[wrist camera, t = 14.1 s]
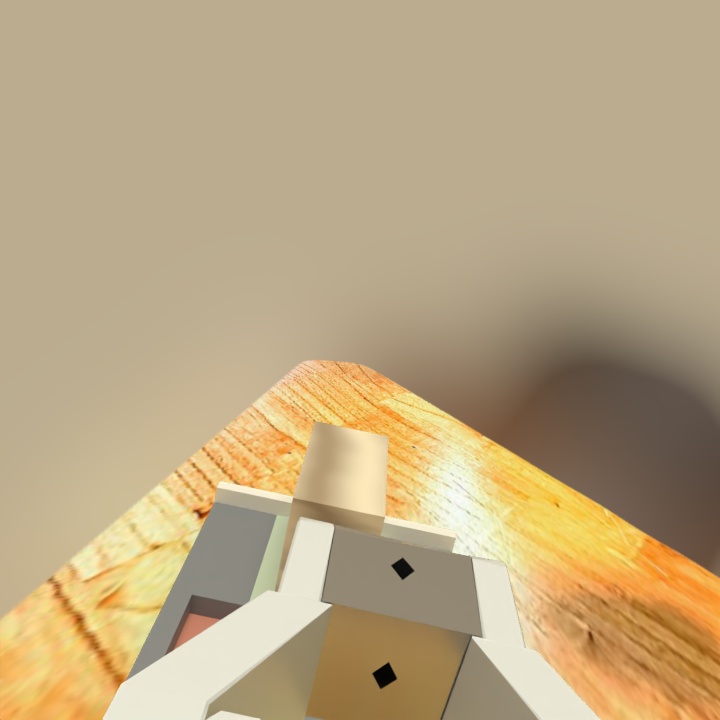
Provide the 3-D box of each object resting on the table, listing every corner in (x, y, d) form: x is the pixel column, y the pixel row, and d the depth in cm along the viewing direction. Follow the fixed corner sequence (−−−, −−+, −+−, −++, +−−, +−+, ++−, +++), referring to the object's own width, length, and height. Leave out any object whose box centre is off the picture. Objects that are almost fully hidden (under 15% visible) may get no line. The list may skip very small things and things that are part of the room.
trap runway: (445, 562, 56) (455, 530, 55) (509, 1217, 23) (538, 1173, 21) (215, 514, 56) (220, 481, 55) (-68, 1103, 22) (-73, 1052, 21)
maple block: (363, 538, 54) (388, 436, 50) (354, 635, 43) (385, 517, 40) (294, 523, 54) (315, 421, 50) (269, 618, 43) (292, 497, 40)
